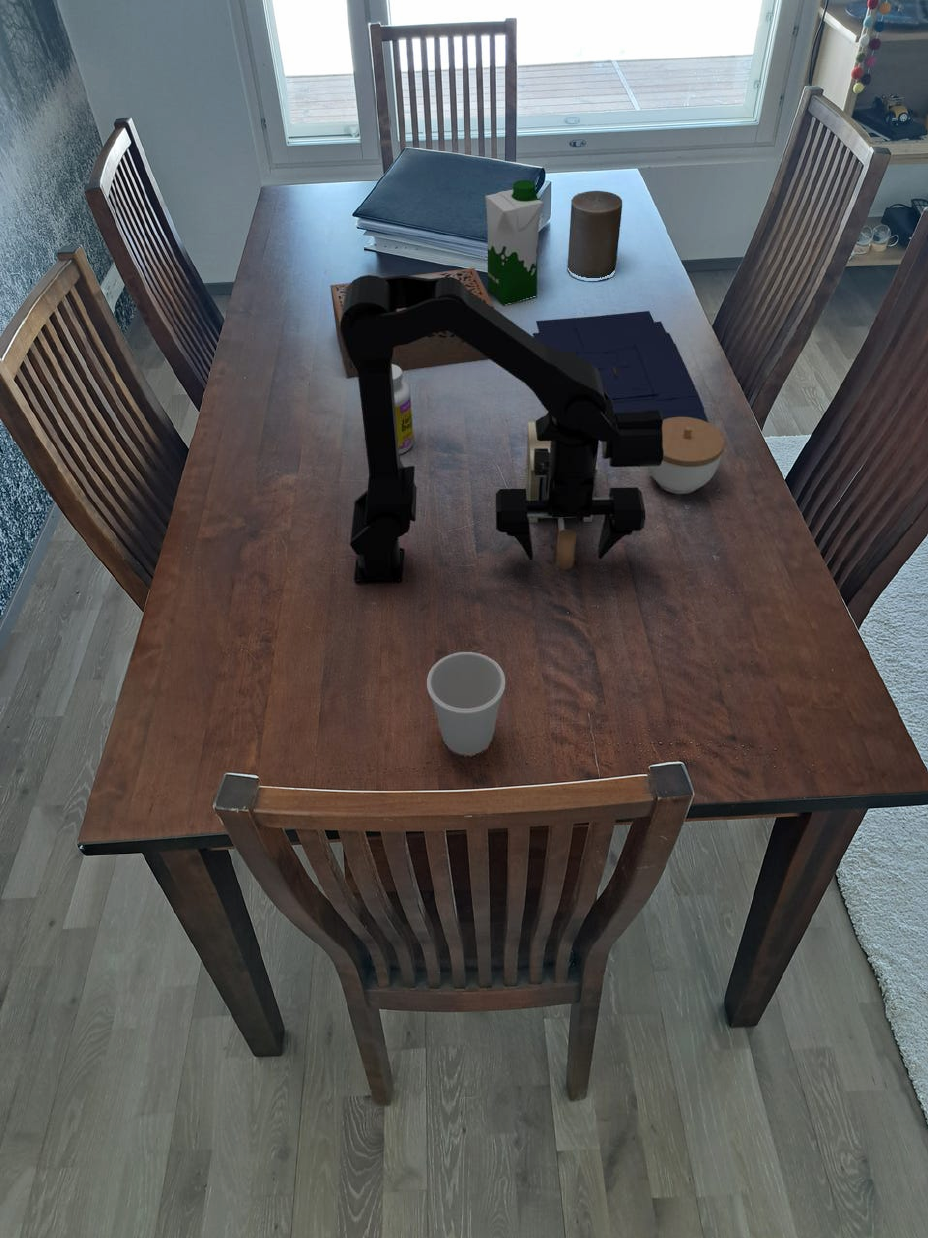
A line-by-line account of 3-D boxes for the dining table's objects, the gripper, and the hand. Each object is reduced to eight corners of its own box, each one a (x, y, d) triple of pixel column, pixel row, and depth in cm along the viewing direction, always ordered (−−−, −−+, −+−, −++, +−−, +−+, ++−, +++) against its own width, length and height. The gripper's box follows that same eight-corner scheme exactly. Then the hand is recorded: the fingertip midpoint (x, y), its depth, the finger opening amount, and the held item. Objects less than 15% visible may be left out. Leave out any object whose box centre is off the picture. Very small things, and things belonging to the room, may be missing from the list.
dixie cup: (504, 707, 106) (505, 651, 99) (503, 767, 101) (504, 712, 93) (433, 706, 107) (429, 649, 100) (428, 765, 101) (423, 710, 94)
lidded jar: (718, 465, 137) (730, 412, 130) (711, 509, 130) (724, 456, 123) (646, 454, 139) (655, 402, 132) (636, 497, 132) (644, 444, 125)
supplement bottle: (408, 459, 140) (402, 386, 130) (366, 454, 141) (357, 382, 131) (418, 434, 144) (413, 361, 135) (377, 429, 145) (370, 357, 136)
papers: (656, 323, 164) (660, 305, 161) (706, 435, 146) (711, 418, 144) (524, 335, 162) (525, 317, 159) (558, 450, 144) (560, 433, 141)
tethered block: (583, 569, 122) (586, 541, 119) (546, 569, 122) (548, 541, 119) (573, 482, 135) (575, 454, 131) (539, 482, 135) (541, 455, 131)
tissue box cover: (475, 319, 169) (474, 267, 162) (493, 359, 159) (493, 306, 152) (337, 337, 166) (330, 285, 158) (347, 379, 156) (340, 325, 149)
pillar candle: (623, 266, 182) (632, 189, 171) (602, 286, 176) (609, 208, 165) (580, 255, 185) (586, 179, 174) (557, 275, 180) (562, 197, 169)
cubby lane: (591, 521, 129) (597, 469, 122) (529, 522, 129) (531, 470, 122) (585, 472, 136) (590, 421, 130) (526, 473, 137) (527, 421, 130)
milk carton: (543, 298, 173) (548, 190, 159) (500, 309, 171) (501, 200, 156) (522, 279, 179) (525, 173, 164) (480, 289, 176) (479, 182, 162)
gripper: (641, 424, 116) (627, 517, 128) (495, 426, 117) (494, 519, 128) (652, 478, 109) (637, 572, 120) (496, 480, 109) (495, 574, 120)
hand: (565, 557), depth 122 cm, fingers open, 9 cm apart
